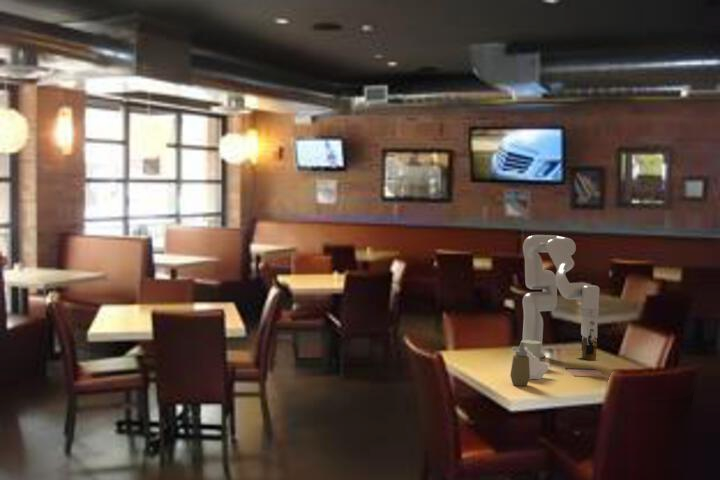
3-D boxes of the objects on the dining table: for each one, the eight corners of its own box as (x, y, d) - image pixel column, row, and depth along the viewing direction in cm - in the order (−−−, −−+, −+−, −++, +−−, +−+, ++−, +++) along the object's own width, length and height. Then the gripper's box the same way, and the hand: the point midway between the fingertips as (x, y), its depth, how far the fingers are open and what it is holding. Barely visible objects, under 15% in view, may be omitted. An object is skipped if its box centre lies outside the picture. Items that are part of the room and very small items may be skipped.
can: (541, 365, 364) (543, 340, 364) (537, 369, 356) (538, 343, 355) (522, 363, 368) (523, 337, 367) (517, 366, 360) (518, 341, 359)
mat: (573, 376, 345) (573, 375, 345) (566, 370, 357) (566, 369, 357) (605, 377, 345) (605, 376, 345) (597, 371, 357) (597, 370, 357)
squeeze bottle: (507, 382, 329) (509, 340, 328) (526, 382, 330) (528, 340, 328) (512, 387, 321) (515, 343, 320) (532, 387, 321) (534, 344, 320)
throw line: (565, 369, 359) (565, 368, 359) (565, 368, 360) (565, 367, 360) (596, 370, 359) (596, 369, 359) (595, 369, 360) (595, 368, 360)
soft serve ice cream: (539, 385, 332) (536, 355, 328) (506, 383, 340) (502, 352, 336) (548, 373, 342) (545, 343, 338) (516, 370, 350) (512, 341, 346)
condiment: (600, 360, 349) (601, 333, 349) (587, 362, 345) (588, 335, 344) (587, 357, 355) (588, 331, 355) (574, 359, 351) (575, 332, 350)
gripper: (603, 316, 341) (601, 356, 342) (592, 310, 358) (590, 349, 359) (586, 315, 341) (584, 356, 342) (575, 309, 358) (573, 348, 359)
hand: (587, 352), depth 350 cm, fingers closed on condiment, 6 cm apart
